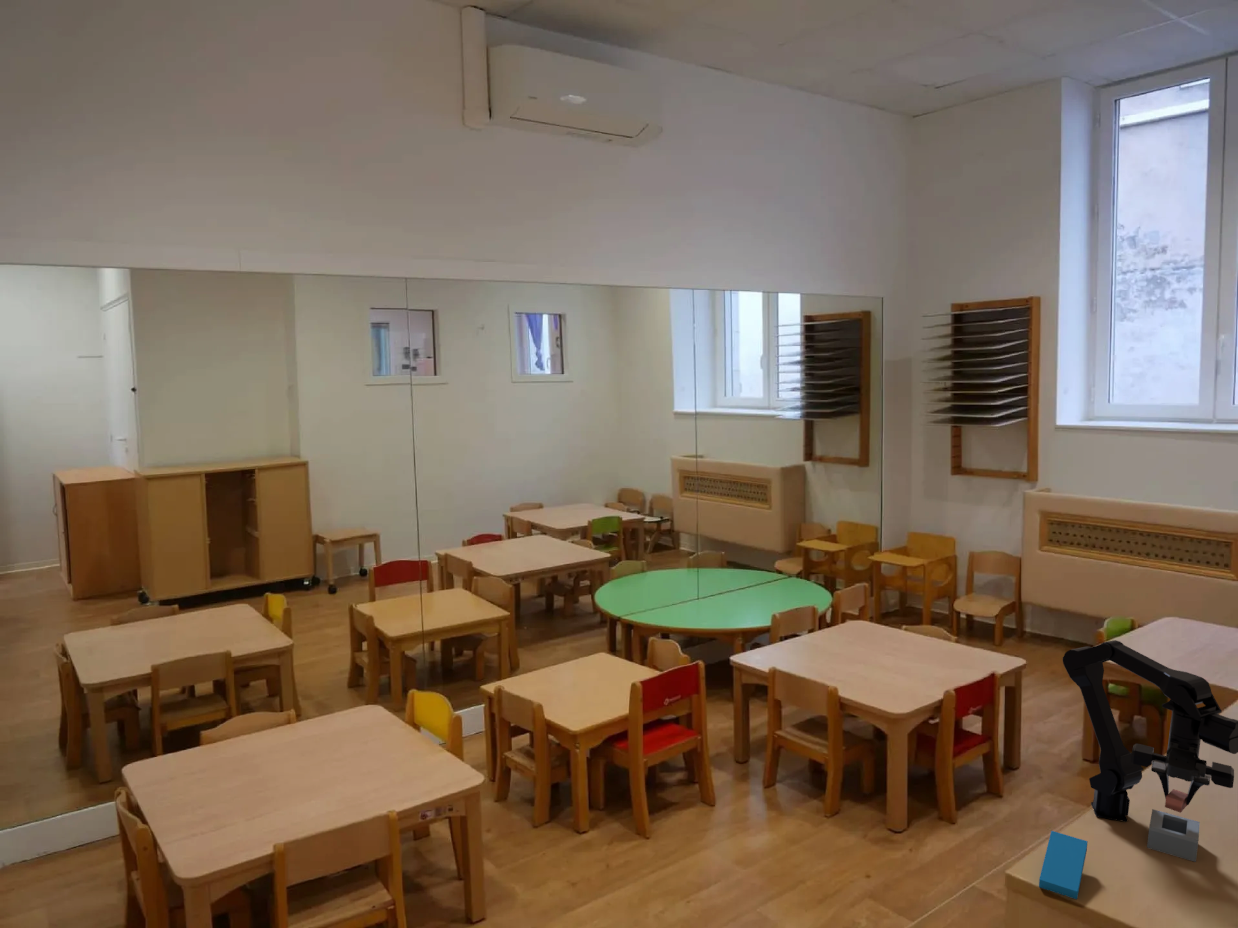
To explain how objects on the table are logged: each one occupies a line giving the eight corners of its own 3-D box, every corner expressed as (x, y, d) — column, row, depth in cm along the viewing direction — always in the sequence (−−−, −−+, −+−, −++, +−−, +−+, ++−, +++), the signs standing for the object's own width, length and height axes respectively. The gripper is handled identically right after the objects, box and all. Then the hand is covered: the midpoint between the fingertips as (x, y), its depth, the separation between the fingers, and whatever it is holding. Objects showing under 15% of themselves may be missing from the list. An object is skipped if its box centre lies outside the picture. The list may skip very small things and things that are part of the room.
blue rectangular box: (1075, 917, 176) (1087, 854, 190) (1077, 891, 174) (1089, 828, 188) (1037, 905, 180) (1052, 843, 194) (1039, 879, 178) (1054, 818, 191)
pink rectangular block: (1180, 812, 191) (1181, 801, 190) (1164, 806, 193) (1166, 796, 193) (1187, 804, 194) (1188, 794, 194) (1172, 799, 196) (1173, 788, 196)
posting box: (1195, 861, 189) (1198, 839, 188) (1147, 847, 194) (1149, 826, 193) (1197, 842, 196) (1199, 821, 195) (1149, 829, 201) (1152, 808, 200)
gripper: (1132, 735, 190) (1124, 803, 192) (1237, 760, 179) (1228, 831, 182) (1136, 717, 199) (1129, 782, 201) (1237, 740, 189) (1228, 809, 191)
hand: (1176, 801), depth 193 cm, fingers closed on pink rectangular block, 3 cm apart
